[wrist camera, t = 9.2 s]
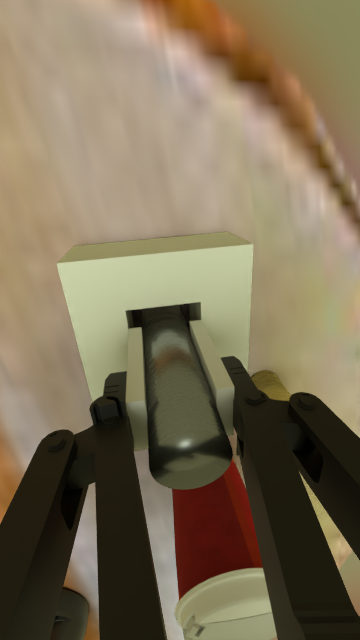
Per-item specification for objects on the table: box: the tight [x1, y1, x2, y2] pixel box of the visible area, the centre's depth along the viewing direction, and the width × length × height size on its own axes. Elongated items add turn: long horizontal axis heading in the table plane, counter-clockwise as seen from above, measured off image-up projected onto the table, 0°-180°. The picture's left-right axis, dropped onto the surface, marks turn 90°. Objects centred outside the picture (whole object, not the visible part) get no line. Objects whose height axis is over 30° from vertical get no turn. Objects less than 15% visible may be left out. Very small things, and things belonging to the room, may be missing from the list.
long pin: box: [142, 305, 233, 490], centre depth 16 cm, size 3×3×14 cm
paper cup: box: [172, 458, 277, 640], centre depth 23 cm, size 8×8×14 cm
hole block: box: [57, 232, 253, 402], centre depth 20 cm, size 11×11×5 cm
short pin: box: [251, 371, 291, 401], centre depth 24 cm, size 3×3×7 cm
